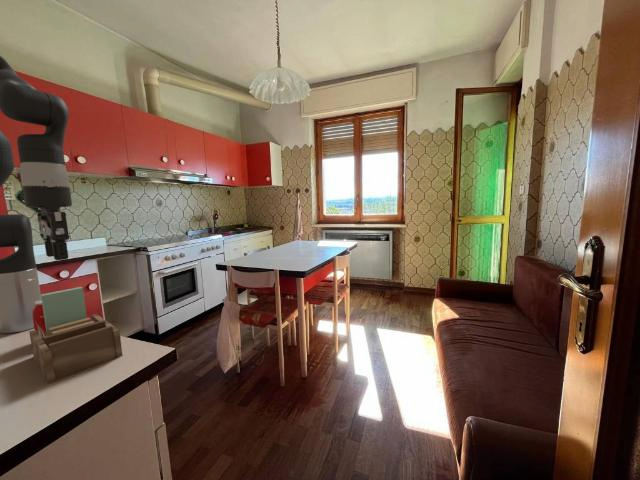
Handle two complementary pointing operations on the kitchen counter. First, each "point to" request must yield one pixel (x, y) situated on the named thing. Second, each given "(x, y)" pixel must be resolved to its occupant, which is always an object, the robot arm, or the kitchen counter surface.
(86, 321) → the pine offcut
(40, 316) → the soda can
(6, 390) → the kitchen counter surface
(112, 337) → the rack
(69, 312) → the sage board
